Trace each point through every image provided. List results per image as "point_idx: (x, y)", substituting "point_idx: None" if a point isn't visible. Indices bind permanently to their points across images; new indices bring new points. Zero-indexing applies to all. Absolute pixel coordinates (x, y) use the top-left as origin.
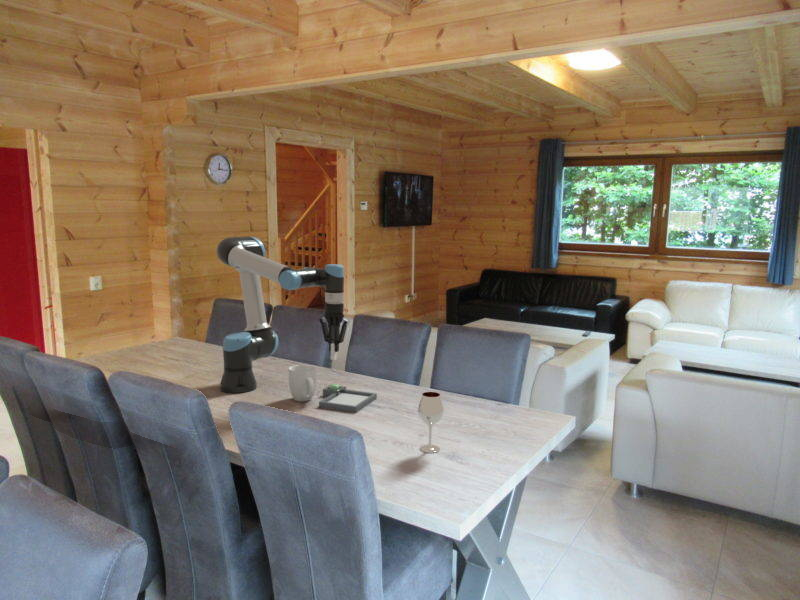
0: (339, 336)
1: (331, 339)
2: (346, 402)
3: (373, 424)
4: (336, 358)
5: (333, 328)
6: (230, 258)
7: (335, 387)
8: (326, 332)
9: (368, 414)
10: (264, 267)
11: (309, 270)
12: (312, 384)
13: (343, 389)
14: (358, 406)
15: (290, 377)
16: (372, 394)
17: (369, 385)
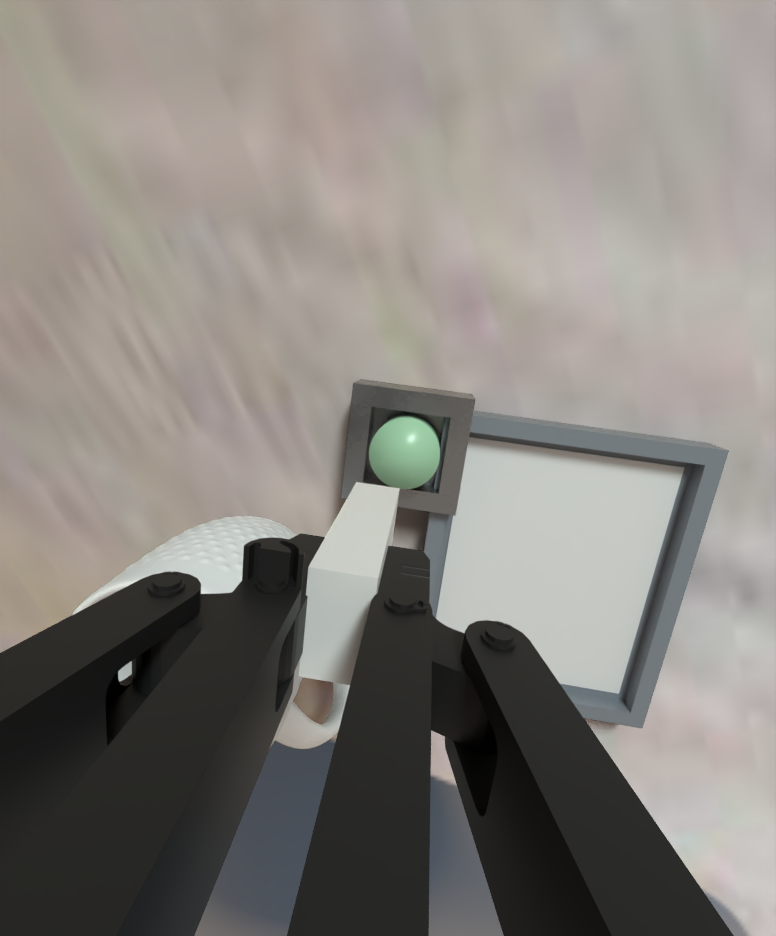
0: (488, 870)
1: (275, 723)
2: (546, 614)
3: (753, 833)
4: (397, 502)
5: (137, 931)
6: None
7: (423, 482)
8: (29, 813)
9: (703, 716)
10: None
11: None
12: (336, 732)
13: (468, 435)
14: (647, 699)
15: None
16: (700, 481)
17: (590, 118)
